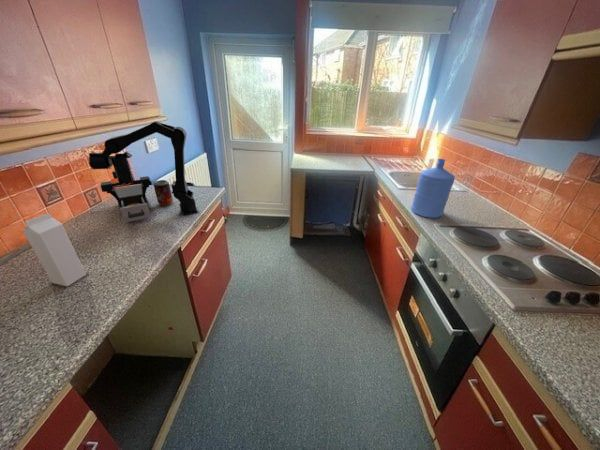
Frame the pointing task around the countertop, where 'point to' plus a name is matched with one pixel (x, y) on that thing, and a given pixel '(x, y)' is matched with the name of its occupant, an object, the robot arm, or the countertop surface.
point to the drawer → (134, 209)
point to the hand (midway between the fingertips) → (132, 201)
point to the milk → (54, 249)
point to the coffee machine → (130, 193)
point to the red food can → (163, 192)
